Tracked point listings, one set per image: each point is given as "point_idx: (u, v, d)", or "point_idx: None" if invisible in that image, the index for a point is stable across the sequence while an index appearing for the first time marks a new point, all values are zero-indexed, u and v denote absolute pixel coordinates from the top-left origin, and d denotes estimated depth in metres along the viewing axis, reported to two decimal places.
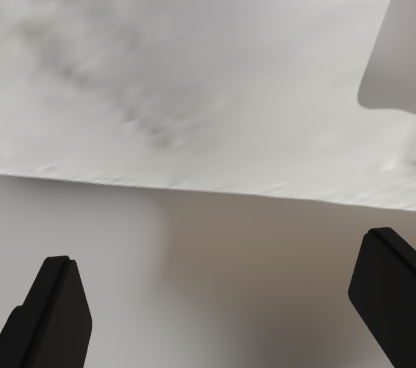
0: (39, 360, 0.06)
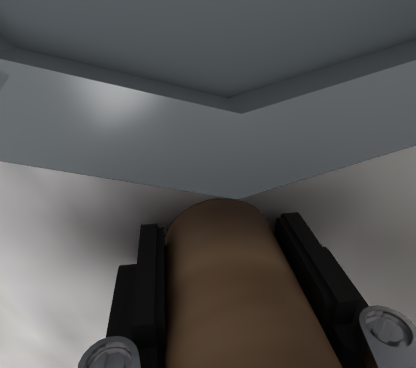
0: (164, 300, 0.08)
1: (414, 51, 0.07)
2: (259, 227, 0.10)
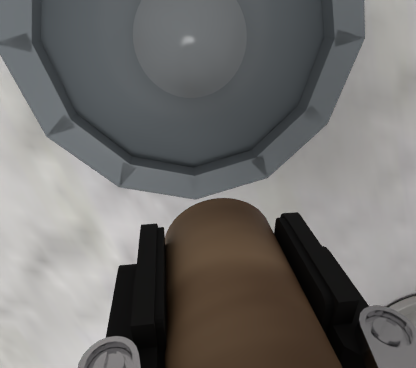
0: (164, 300, 0.08)
1: (245, 157, 0.24)
2: (259, 227, 0.10)
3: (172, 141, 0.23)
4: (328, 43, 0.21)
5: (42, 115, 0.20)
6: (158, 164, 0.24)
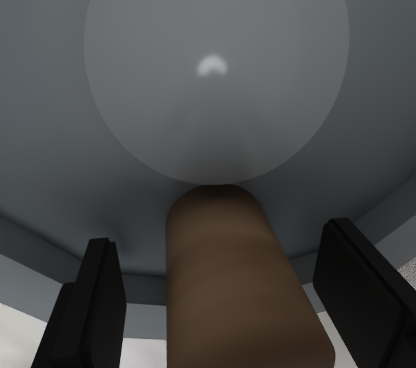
0: (98, 325, 0.07)
1: (310, 270, 0.13)
2: (251, 207, 0.11)
3: None
4: None
5: None
6: (151, 287, 0.13)
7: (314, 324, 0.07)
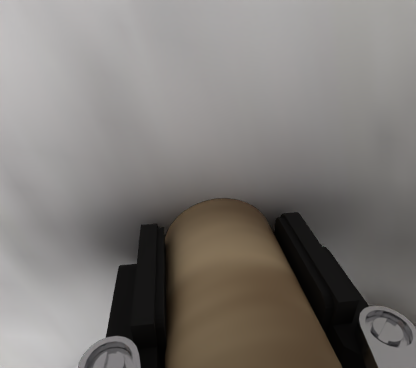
0: (164, 300, 0.08)
1: None
2: None
3: None
4: None
5: None
6: None
7: None
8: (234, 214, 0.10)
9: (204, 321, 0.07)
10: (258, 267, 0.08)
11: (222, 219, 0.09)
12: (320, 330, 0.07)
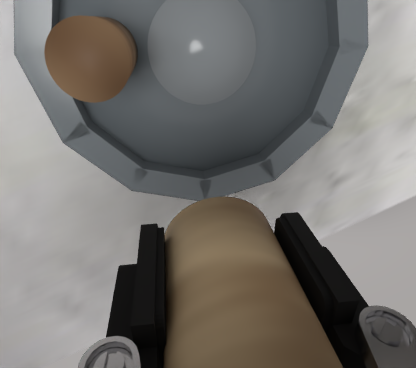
0: (164, 300, 0.08)
1: (84, 115, 0.21)
2: (133, 69, 0.20)
3: None
4: (200, 175, 0.25)
5: None
6: (56, 2, 0.18)
7: (123, 87, 0.16)
8: (233, 212, 0.10)
9: (203, 319, 0.07)
10: (257, 264, 0.08)
11: (221, 217, 0.09)
12: (320, 328, 0.07)
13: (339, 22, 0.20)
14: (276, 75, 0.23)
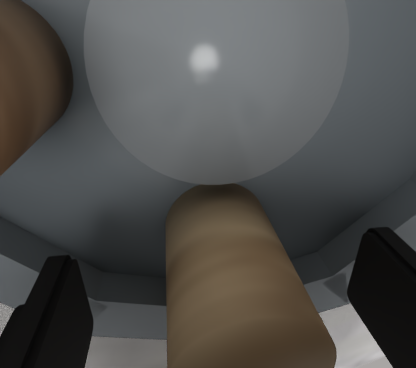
0: (42, 359, 0.06)
1: None
2: (55, 115, 0.08)
3: None
4: None
5: None
6: None
7: None
8: (229, 194, 0.11)
9: (201, 279, 0.08)
10: (248, 236, 0.09)
11: (217, 198, 0.10)
12: (302, 288, 0.08)
13: None
14: (368, 115, 0.11)
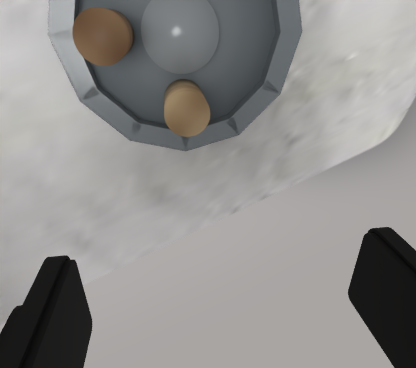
0: (40, 361, 0.06)
1: (95, 81, 0.29)
2: (131, 47, 0.28)
3: None
4: None
5: None
6: None
7: (123, 55, 0.24)
8: (186, 80, 0.30)
9: (173, 91, 0.27)
10: (189, 85, 0.28)
11: (182, 81, 0.30)
12: (203, 95, 0.27)
13: (279, 13, 0.28)
14: (237, 53, 0.31)
